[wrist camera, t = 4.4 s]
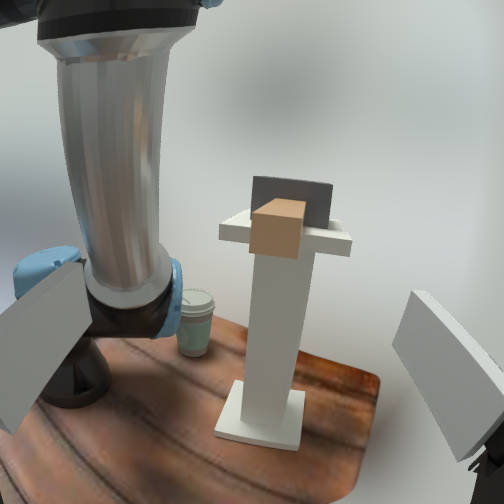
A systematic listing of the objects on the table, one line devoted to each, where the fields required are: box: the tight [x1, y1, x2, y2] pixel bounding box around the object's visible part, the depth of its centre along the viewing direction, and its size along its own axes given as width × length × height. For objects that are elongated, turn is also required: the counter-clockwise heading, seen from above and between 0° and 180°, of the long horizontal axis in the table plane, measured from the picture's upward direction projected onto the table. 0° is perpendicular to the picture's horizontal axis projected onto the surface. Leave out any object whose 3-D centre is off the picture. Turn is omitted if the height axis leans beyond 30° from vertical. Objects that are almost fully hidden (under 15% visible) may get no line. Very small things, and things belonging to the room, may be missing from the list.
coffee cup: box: [176, 288, 215, 357], centre depth 54 cm, size 9×9×12 cm
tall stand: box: [214, 209, 352, 451], centre depth 35 cm, size 12×12×30 cm
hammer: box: [249, 176, 333, 259], centre depth 26 cm, size 19×8×4 cm, turn 168°
